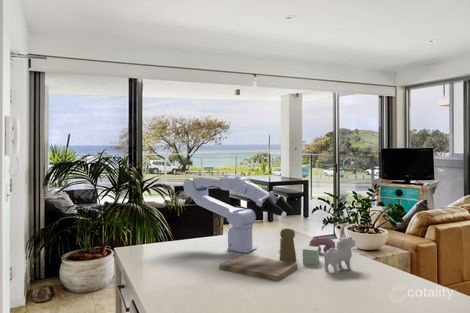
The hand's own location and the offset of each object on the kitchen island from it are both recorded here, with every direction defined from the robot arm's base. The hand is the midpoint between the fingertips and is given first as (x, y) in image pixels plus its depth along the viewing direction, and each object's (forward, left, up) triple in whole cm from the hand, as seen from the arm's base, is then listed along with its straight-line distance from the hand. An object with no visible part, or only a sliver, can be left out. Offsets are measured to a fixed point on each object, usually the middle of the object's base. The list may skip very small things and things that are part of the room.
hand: (286, 212), depth 136 cm
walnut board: (-3, -16, -17) cm, 23 cm away
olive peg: (+1, -2, -17) cm, 17 cm away
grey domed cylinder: (-5, +9, -17) cm, 20 cm away
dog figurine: (+20, -2, -17) cm, 26 cm away
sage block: (+9, 0, -17) cm, 19 cm away
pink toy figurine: (+8, +13, -17) cm, 23 cm away
